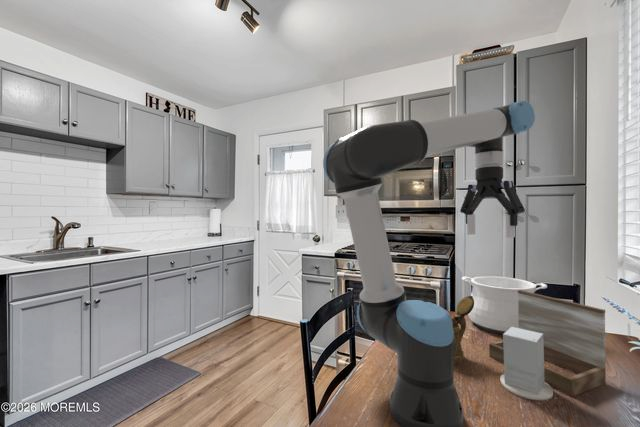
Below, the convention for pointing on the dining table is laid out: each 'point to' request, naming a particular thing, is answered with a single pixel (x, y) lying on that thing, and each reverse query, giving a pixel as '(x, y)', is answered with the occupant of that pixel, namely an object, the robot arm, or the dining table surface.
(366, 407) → the dining table surface
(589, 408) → the dining table surface
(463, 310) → the wooden mug
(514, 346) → the supplement box
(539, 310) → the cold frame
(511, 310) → the pot
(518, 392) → the saucer
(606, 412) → the dining table surface
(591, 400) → the dining table surface
